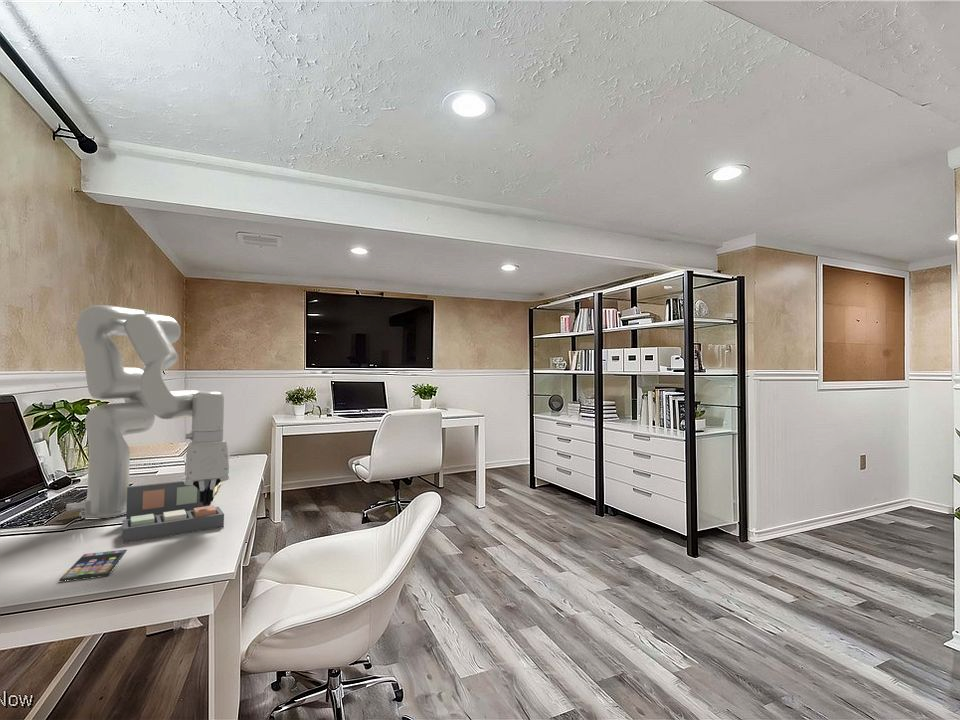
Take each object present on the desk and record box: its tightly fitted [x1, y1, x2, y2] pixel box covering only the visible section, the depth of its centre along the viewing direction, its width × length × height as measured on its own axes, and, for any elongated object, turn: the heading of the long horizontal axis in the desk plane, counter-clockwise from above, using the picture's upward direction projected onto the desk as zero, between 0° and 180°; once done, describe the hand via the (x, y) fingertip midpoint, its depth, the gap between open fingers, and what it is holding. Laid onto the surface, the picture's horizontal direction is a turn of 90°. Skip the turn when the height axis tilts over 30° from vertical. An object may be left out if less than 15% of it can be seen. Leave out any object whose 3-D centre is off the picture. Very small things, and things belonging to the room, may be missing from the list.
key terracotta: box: [193, 505, 216, 517], centre depth 132 cm, size 5×5×2 cm
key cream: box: [163, 510, 187, 522], centre depth 128 cm, size 5×5×2 cm
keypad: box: [121, 480, 225, 544], centre depth 132 cm, size 22×19×10 cm
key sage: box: [130, 514, 155, 527], centre depth 123 cm, size 5×5×2 cm
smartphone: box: [58, 549, 127, 582], centre depth 105 cm, size 8×15×1 cm, turn 24°
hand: (206, 504), depth 132 cm, fingers closed
